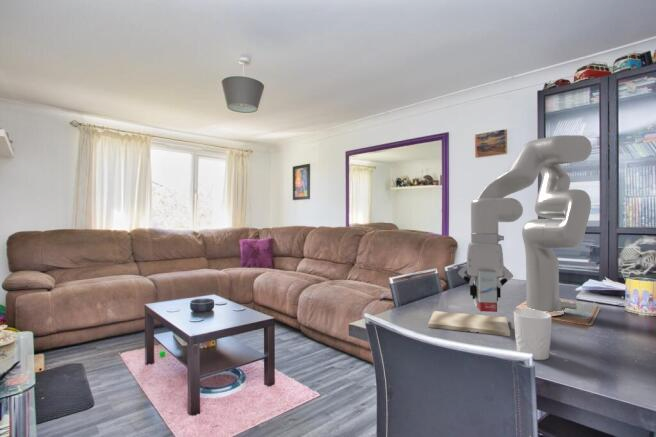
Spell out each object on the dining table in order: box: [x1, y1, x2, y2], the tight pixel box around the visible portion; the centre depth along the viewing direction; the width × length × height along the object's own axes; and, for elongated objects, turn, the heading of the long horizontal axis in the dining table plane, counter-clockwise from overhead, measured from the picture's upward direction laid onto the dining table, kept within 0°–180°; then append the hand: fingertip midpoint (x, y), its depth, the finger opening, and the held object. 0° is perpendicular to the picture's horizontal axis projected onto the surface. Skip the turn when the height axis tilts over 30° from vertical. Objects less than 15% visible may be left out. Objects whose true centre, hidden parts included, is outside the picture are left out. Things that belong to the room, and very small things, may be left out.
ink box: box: [473, 270, 498, 313], centre depth 104 cm, size 9×5×12 cm, turn 168°
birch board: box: [428, 310, 511, 337], centre depth 106 cm, size 22×14×1 cm, turn 66°
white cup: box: [513, 308, 553, 361], centre depth 83 cm, size 8×8×10 cm
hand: (485, 298), depth 104 cm, fingers closed on ink box, 5 cm apart
